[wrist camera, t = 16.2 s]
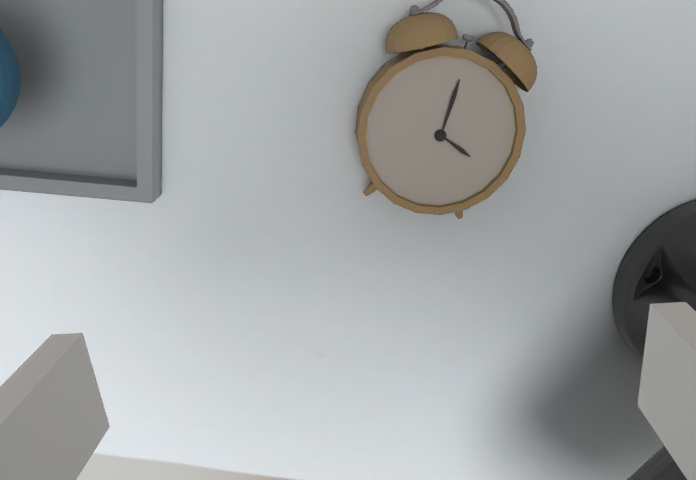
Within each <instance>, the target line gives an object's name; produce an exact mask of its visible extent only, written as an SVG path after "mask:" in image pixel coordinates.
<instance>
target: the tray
mask: <svg viewBox="0 0 696 480" xmlns="http://www.w3.org/2000/svg"><path fill="white" fill-rule="evenodd" d="M0 29H1V30H2V31H3V33H4V34H5V35H6V37H7V38H8V40H9V42H10V44H11V46H12V48H13V50H14V52H15V54H16V57H17V61H18V64H19V68H20V78H21V84H20V94H19V98H18V101H17V104H16V107H15V108H14V110H13V112H12V113H11V115H10V117H9V118H8V120H7V121H6V122H5V123H4V124H3V125H2V126H1V127H0V189H1V190H12V191H23V192H34V193H46V194H57V195H68V196H79V197H90V198H101V199H112V200H123V201H134V202H146V203H153V202H154V201H155V200H156V199H157V198H158V197H159V196H160V195H161V171H162V58H163V0H0Z"/></svg>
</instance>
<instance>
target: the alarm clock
mask: <svg viewBox="0 0 696 480" xmlns="http://www.w3.org/2000/svg"><path fill="white" fill-rule="evenodd" d="M441 1H442V0H435V1H434V2H432V3H430V4H429V5H427V6H426V7H424V8H422V9H420V10H419V8H418V6H417V5H414V6H411V9H410V13H409V15H411V16H408V17H406V18H404V19H402V20H400V21H399V22H397V23H396V24H395V25H394V26H393V27H392V28H391V30H390V31H389V33H388V35H387V39H386V52H387V53H396V52H404V51H405V52H404V53H402V54H400V55H399V56H397V57H395V58H394V59H392V60H390V61H389V62H387V63H386V64H385V65H384V66H383V67H382V68H381V69H380V70H379V72H378V73H377V74H376V75H375V76H374V77H373V78H372V79H371V81H370V82H369V83H368V85H367V88H366V90H365V92H364V94H363V97H362V99H361V101H360V103H359V106H358V113H357V122H356V136H357V141H358V146H359V150H360V155H361V160H362V165H363V167H364V169H365V171H366V172H367V174H368V176H369V177H370V179H371V181H372V183H371V184H370V185H368V187H367V188H366V189H365V190H364V192H363V193H364V194H365V195H366V196H368V195H369V194H371V193H373V192H374V191H376V190H377V189H378V190H379V191H380V192H381V193H383V194H384V195H385V196H386V197H387V198H388V199H389V200H391V201H392V202H393V203H394V204H397V205H399V206H402V207H404V208H406V209H409V210H411V211H414V212H416V213H427V214H438V215H442V214H447V213H452V212H455V214H456V216H457V218H458V219H460V218H462V217H463V211H462V210H466V209H468V208H469V207H471V206H473V205H475V204H477V203H479V202H481V201H482V200H484V199H486V198H488V197H489V196H490V195H491V194H492V193H493V192H494V191H495V190H496V189H497V188H498V187H499V186H500V185H502V184H503V183H504V182H505V181H506V180H507V178H508V176H509V175H510V173H511V171H512V169H513V168H514V166H515V164H516V162H517V161H518V159H519V157H520V153H521V149H522V145H523V140H524V136H525V131H526V130H525V119H524V108H523V103H522V101H521V99H520V96H519V94H518V92H517V90H516V88H515V85H514V84H516V85H517V86H518V87H520V88H521V89H522V90H524V91H526V92H528V91H529V90H530V89H531V87H532V86H533V84H534V82H535V80H536V76H537V65H536V62H535V60H534V57H533V55H532V54H531V52H530V51H531V50H532V49H531V47H532V45H533V43H534V42H533V41H532V40H531V39H528V40H526V41H525V40H524V39H523V37H522V35H521V33H520V28H519V24H518V20H517V17H516V15H515V13H514V11H513V9H512V8H511V7H510V5H509V4H508V3H507V1H505V0H494V1H495V2H496V3H498V4H499V5H500V6H501V7H502V8H503V9H504V11H505V12H506V13H507V15H508V17H509V20H510V22H511V26H512V29H513V32H514V34H515V36H516V38H515V37H513V36H511V35H509V34H507V33H503V32H493V33H490V34H487V35H485V36H484V37H482V38H481V39H480V40H479V41H478V42H477V45H478V46H479V48H480V49H481V50H482V52H483V53H484V54H487V53H489V52H493V53H494V54H495V55H496V56H498V57H499V58H500V59H501V60H502V62H501V63H500V64H499V65H497V64H496V63H495V62H493V61H491V60H489V59H487V58H485V57H483V56H481V55H479V54H477V53H475V52H473V51H471V50H467V49H466V46H467V43H468V41H469V42H473V40H474V37H473V36H469V35H466V34H464V35H463V37H462V39H463V40H466V43H465V46H464V48H462V47H460V46H452V45H442V44H441V43H445V42H448V41H451V40H453V39H456V38H457V37H458V34H457V30H456V28H455V26H454V24H453V22H452V21H451V20H450V19H449V18H448V17H446V16H444V15H442V14H438V13H430V12H427V13H421V12H424V11H426V10H429V9H431V8H433V7H435V6H436V5H438V4H439V3H440V2H441ZM529 50H530V51H529ZM504 66H506V70H505V72H503V70H502V68H503V67H504Z"/></svg>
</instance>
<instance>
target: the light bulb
mask: <svg viewBox="0 0 696 480" xmlns="http://www.w3.org/2000/svg"><path fill="white" fill-rule="evenodd" d="M20 84H21V78H20V68H19V64H18V61H17V57H16V54H15V52H14V50H13V48H12V46H11V44H10V42H9V40H8V38H7V37H6V35H5V34H4V33H3V31H2V30H1V29H0V127H1V126H2V125H3V124H4V123H5V122H6V121H7V120H8V118H9V117H10V115H11V113H12V112H13V110H14V108H15V107H16V104H17V101H18V98H19V94H20Z"/></svg>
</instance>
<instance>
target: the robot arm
mask: <svg viewBox="0 0 696 480" xmlns="http://www.w3.org/2000/svg"><path fill="white" fill-rule="evenodd" d="M613 312H614V317H615V321H616V325H617V327H618V330H619V332H620V334H621V336H622V337H623V339H624V341H625V342H626V343H627V344H628V346H629V347H630V348H631V349H632V350H633V351H634V352H635V353H636V354H637V355H638V356H639V357H640V358H642V359H643V364H642V372H641V380H640V388H639V396H638V403H637V405H638V407H639V408H640V410H641V411H642V413H643V414H644V416H645V417H646V419H647V420H648V422H649V423H650V425H651V426H652V428H653V429H654V431H655V432H656V434H657V435H658V437H659V438H660V440H661V441H662V443H663V444H664V446H663V447H662V448H661V449H660V450H659V451H658V452H657V453H656V454H655V455H654V456H653V457H651V458H650V459H649V460H648V461H647V462H646V463H645V464H644V465H643V466H642V467H640V468H639V469H638V470H637V471H636V472H635V473H634V474H633V475H632V476H631V477H630V478H628V479H627V480H696V200H695V201H692V202H689V203H686V204H684V205H681V206H679V207H677V208H675V209H673V210H672V211H670V212H668V213H667V214H665V215H664V216H662V217H661V218H659V219H658V220H657V221H655V222H654V223H653V224H652V225H651V226H649V227H648V228H647V229H646V230H645V231H644V232H643V233H642V234H641V235H640V237H639V238H638V239H637V240H636V241H635V243H634V244H633V245H632V247H631V248H630V250H629V251H628V253H627V254H626V256H625V258H624V260H623V262H622V264H621V266H620V269H619V271H618V274H617V277H616V281H615V285H614V291H613ZM109 427H110V426H109V423H108V419H107V416H106V412H105V409H104V406H103V402H102V399H101V395H100V392H99V388H98V385H97V381H96V378H95V374H94V371H93V368H92V364H91V361H90V357H89V354H88V350H87V347H86V343H85V340H84V336H83V333H76V334H57V335H51V336H50V337H49V338H48V339H47V340H46V341H45V342H44V343H43V344H42V345H41V346H40V347H39V348H38V349H37V350H36V351H35V352H34V353H33V354H32V355H31V356H30V357H29V358H28V359H27V360H26V361H25V362H24V363H23V364H22V365H21V366H20V367H19V368H18V369H17V370H16V371H15V372H14V374H13V375H12V376H11V377H10V378H9V379H8V380H7V381H6V382H5V383H4V384H3V385H2V386H1V387H0V480H76V479H77V477H78V476H79V474H80V472H81V471H82V469H83V468H84V466H85V465H86V463H87V462H88V460H89V458H90V457H91V455H92V454H93V452H94V450H95V449H96V447H97V446H98V444H99V442H100V441H101V439H102V438H103V436H104V435H105V433H106V431H107V430H108V428H109Z"/></svg>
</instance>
